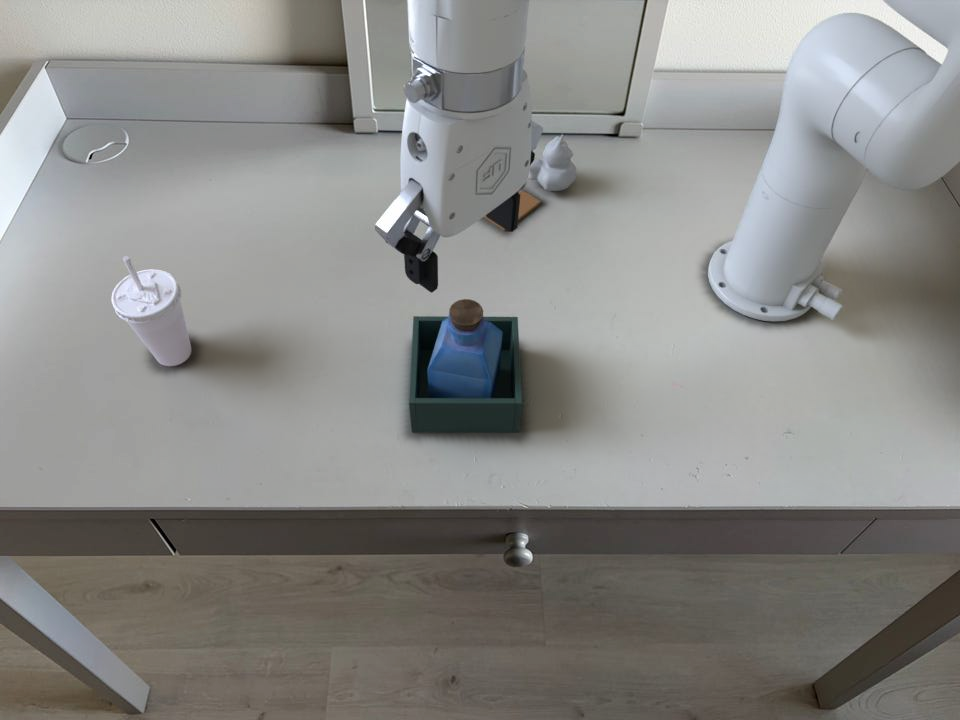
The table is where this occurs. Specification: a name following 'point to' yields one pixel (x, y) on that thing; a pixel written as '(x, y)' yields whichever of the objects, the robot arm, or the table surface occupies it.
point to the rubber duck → (554, 166)
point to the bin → (465, 412)
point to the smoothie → (154, 312)
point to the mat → (522, 206)
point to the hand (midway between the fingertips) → (462, 251)
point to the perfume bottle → (465, 354)
